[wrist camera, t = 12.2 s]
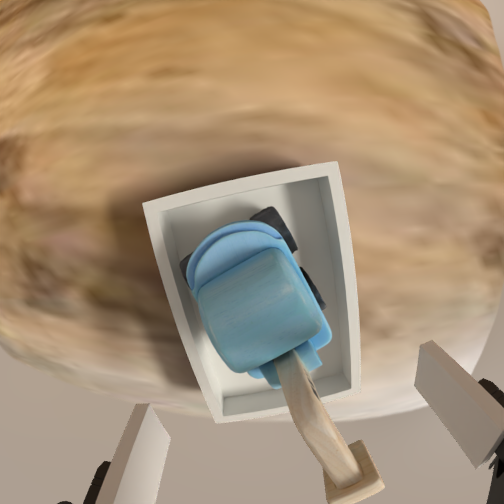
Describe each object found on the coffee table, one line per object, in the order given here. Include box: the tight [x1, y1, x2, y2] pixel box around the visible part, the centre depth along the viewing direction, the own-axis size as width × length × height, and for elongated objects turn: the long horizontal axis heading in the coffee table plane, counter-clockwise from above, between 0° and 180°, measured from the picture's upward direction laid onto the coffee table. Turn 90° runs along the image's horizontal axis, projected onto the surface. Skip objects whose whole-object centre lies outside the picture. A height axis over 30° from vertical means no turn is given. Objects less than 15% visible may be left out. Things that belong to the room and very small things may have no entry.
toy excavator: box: [179, 206, 385, 504], centre depth 16 cm, size 9×17×17 cm, turn 29°
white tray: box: [142, 161, 361, 424], centre depth 24 cm, size 22×15×6 cm
